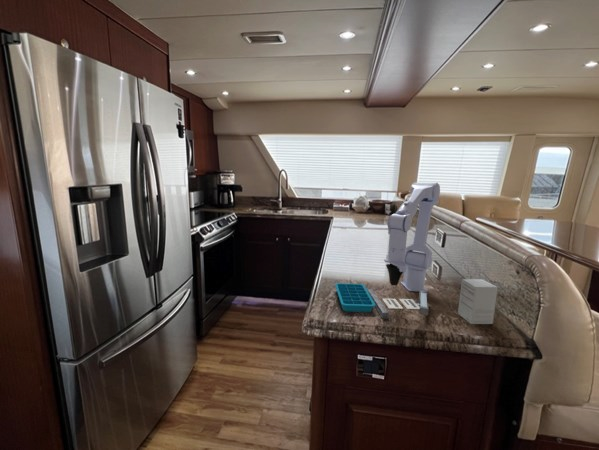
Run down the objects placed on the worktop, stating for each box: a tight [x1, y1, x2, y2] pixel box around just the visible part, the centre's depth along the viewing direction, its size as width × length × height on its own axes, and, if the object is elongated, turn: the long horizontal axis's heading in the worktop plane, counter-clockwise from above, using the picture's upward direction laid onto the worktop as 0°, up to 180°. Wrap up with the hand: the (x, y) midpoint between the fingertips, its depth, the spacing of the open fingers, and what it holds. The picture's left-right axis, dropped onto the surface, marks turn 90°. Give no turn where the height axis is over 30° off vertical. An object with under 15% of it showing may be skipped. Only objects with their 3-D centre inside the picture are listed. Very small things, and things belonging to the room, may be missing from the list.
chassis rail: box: [366, 288, 390, 319], centre depth 101 cm, size 20×2×2 cm, turn 1°
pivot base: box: [415, 300, 430, 308], centre depth 102 cm, size 5×5×1 cm
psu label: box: [381, 298, 404, 310], centre depth 102 cm, size 8×5×1 cm, turn 1°
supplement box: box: [457, 278, 499, 325], centre depth 91 cm, size 7×7×13 cm
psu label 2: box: [398, 298, 420, 311], centre depth 102 cm, size 8×5×1 cm, turn 1°
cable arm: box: [417, 290, 429, 316], centre depth 95 cm, size 16×3×5 cm, turn 157°
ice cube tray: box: [334, 282, 375, 313], centre depth 104 cm, size 12×20×3 cm, turn 0°
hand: (393, 284), depth 101 cm, fingers closed
